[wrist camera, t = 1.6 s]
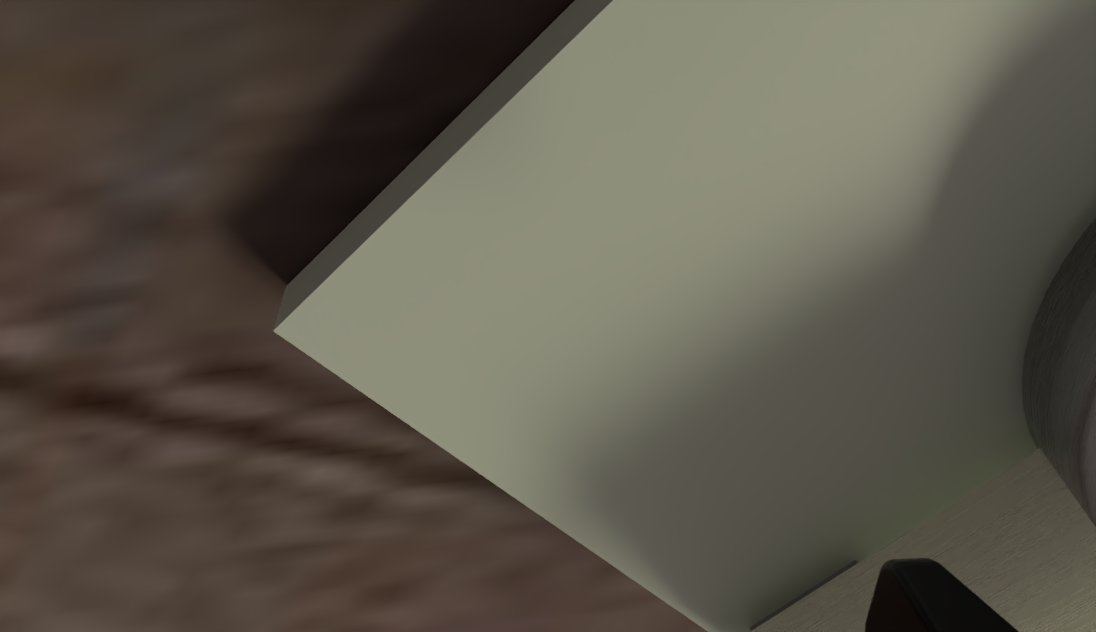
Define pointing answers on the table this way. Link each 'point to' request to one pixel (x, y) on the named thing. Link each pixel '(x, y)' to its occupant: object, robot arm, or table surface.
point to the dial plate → (728, 277)
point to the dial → (1012, 493)
